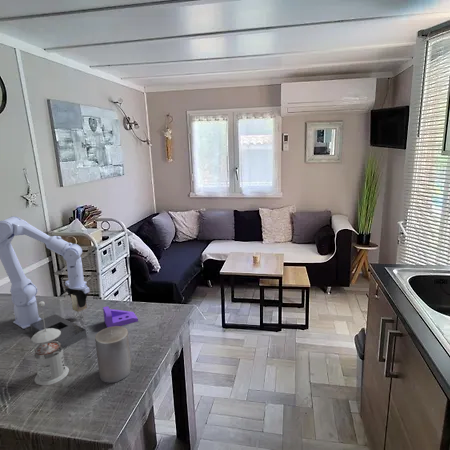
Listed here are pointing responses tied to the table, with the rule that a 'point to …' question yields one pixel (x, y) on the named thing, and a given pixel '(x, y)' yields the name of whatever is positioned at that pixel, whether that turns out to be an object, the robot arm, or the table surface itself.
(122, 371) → the pillar candle
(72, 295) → the brass peg
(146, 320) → the table surface
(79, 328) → the dark grey slotted block
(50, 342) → the french press
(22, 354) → the table surface
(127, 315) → the bracket
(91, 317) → the table surface
